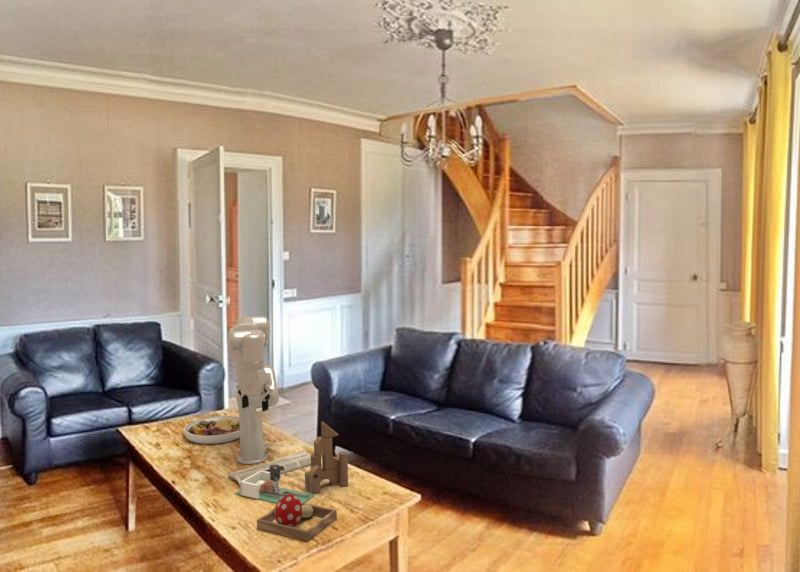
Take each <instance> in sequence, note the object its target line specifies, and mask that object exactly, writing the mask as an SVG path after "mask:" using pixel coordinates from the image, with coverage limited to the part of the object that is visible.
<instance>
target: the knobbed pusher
mask: <svg viewBox="0 0 800 572" xmlns="http://www.w3.org/2000/svg"><path fill="white" fill-rule="evenodd" d="M279 480H281V475H280V465H271V466H270V480H268V481H267V482H265V483H263V484H262V485H260V487H261V492H265V493H269V494H274V495H278V496H283V495H284V494H286V491H285V490H280V489H279V487H280V481H279Z"/></svg>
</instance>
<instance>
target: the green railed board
mask: <svg viewBox="0 0 800 572" xmlns="http://www.w3.org/2000/svg"><path fill="white" fill-rule="evenodd" d="M279 489H283V490H288V491H293V492H297V493H302V494H307V495H311V498H304V497H300V496H297V497H298V499H299V500H301V501H303V503H306V502H308V501H309V500H311V499H313V498H314V497H315V495H316V494H311V493H310V492H309V493H308V492H303V491H298V490H294V489H288V488H284V487H280V486H279ZM261 493H262V492H261V491H259V498H258V499H256V498H254V499H256V500H259V501H265V502H268V503H269V502H270V503H272V504H277V502H278V501H279V500H280V499H276V498H271V497H267V496H262V495H261ZM234 494H235V495H238V496H241V497H242V496H243V495H240V489H239V490H237V491H235V492H234ZM284 495H287V494H284ZM284 495H283V496H284ZM243 497H244V496H243ZM245 497H246V498H248V497H247V496H245ZM249 498H251V499H253V498H252V497H249Z"/></svg>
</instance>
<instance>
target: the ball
mask: <svg viewBox="0 0 800 572" xmlns="http://www.w3.org/2000/svg"><path fill="white" fill-rule="evenodd" d="M263 483H265V481H263V480H259V481H258V482H257V483H256V484H259V491H261V487H260V485H262V484H263Z"/></svg>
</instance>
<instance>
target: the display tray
mask: <svg viewBox="0 0 800 572" xmlns="http://www.w3.org/2000/svg"><path fill="white" fill-rule="evenodd" d="M306 504H307V505H311V507H312V508H313V514H312V516H317V517H320V518H321V519H320V520H318V521H317V522H316V523H315V524H313V525H312V526H310V528H308V529H302V528H299V527H290V526H286V525H282V524H278V522H274V520H276V518H275V508H273V509H271V510H270V511H269V512H267V513H265V514H264V515H262V516H261V517H259V518H258V519H256V528H257V530H261V531H264V532H268V533H272V534H275V535H276V534H277V535H280V536H283V537H288V538H291V539H296V540H300V541H303V542H309V541H311V540H312V539H313V538H315V537H316V536H317V535H318V534H319V533H321V532H322V531H324V529H326V528H327V527H328V526H329V525H331V524H332V523H333V522H334V521H335V520H337V509H332V508H327V507H323V506H319V505H314V504H310V503H306V502H305V503H302V502H301V505H306Z"/></svg>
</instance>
